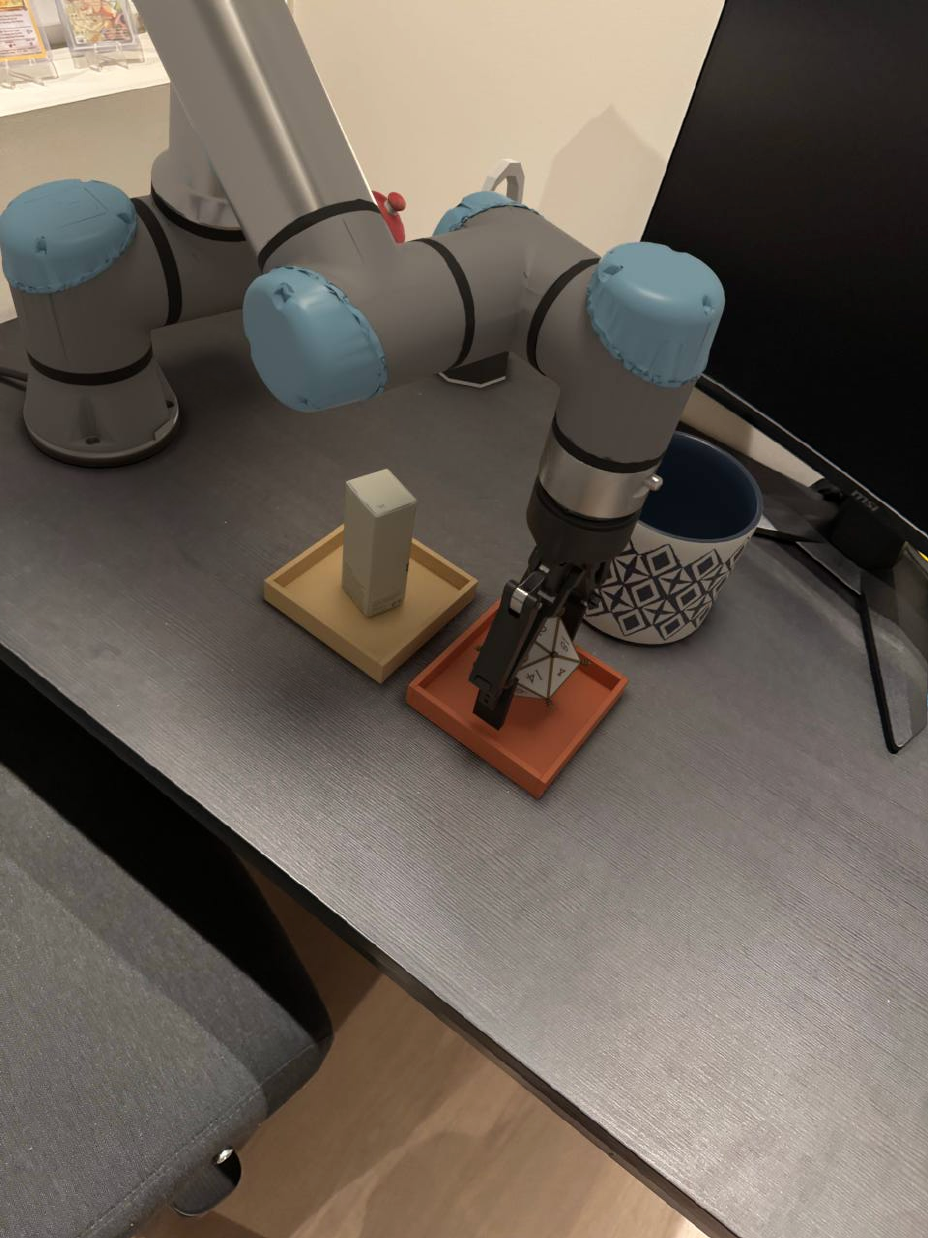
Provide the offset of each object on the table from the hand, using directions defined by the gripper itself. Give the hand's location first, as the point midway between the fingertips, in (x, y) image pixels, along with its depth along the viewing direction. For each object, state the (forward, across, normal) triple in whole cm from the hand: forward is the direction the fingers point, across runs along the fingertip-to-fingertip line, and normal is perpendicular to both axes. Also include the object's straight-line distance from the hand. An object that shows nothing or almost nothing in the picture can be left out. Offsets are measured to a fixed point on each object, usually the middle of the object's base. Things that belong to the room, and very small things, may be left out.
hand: (522, 681), depth 74 cm
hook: (+3, +40, +35) cm, 53 cm away
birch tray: (+3, 0, +17) cm, 17 cm away
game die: (0, 0, 0) cm, 0 cm away
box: (+2, 0, +17) cm, 17 cm away
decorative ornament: (+3, +42, +54) cm, 68 cm away
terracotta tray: (+3, 0, 0) cm, 3 cm away
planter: (+3, +20, -1) cm, 20 cm away
